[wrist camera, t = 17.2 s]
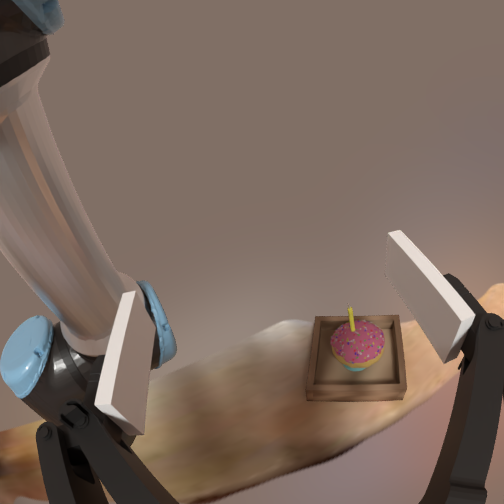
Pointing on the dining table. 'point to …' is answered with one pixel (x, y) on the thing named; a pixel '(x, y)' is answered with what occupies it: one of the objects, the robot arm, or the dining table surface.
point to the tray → (356, 382)
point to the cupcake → (357, 343)
